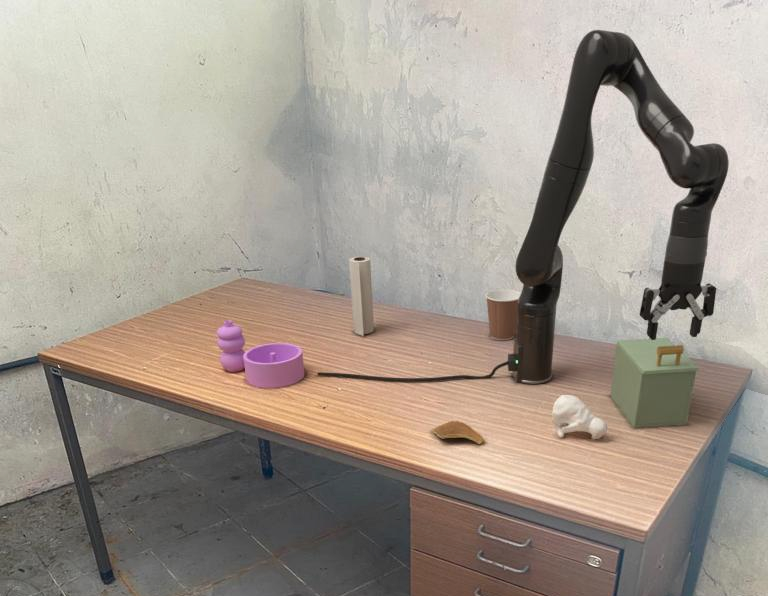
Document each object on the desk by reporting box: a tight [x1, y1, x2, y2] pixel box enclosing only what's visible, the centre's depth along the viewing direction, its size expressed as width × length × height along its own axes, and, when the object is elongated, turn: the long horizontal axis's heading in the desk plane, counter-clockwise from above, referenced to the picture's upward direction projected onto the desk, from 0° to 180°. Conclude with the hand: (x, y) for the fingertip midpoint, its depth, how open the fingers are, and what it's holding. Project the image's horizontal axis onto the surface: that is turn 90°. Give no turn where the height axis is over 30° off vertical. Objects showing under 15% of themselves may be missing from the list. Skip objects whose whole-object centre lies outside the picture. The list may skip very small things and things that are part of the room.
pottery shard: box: [432, 420, 485, 445], centre depth 166 cm, size 10×9×2 cm
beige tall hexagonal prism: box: [348, 256, 375, 337], centre depth 222 cm, size 7×6×21 cm
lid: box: [616, 337, 700, 374], centre depth 166 cm, size 18×12×5 cm, turn 3°
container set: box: [216, 319, 306, 389], centre depth 200 cm, size 25×15×13 cm, turn 60°
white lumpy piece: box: [551, 394, 608, 441], centre depth 163 cm, size 6×8×12 cm
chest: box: [609, 344, 697, 429], centre depth 171 cm, size 18×12×13 cm, turn 3°
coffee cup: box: [485, 289, 522, 341], centre depth 216 cm, size 10×10×12 cm
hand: (672, 337), depth 158 cm, fingers open, 8 cm apart
